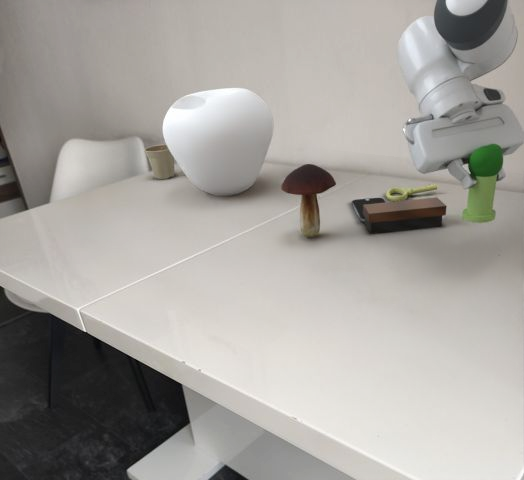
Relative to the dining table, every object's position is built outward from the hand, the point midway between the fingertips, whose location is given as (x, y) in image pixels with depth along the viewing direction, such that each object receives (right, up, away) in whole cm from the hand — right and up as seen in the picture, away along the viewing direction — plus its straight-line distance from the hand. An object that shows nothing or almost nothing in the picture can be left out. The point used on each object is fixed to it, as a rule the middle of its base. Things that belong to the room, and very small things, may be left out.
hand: (485, 183), depth 87 cm
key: (0, +10, +44) cm, 45 cm away
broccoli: (0, -5, +4) cm, 6 cm away
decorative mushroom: (-26, -3, +27) cm, 38 cm away
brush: (-6, 0, +28) cm, 29 cm away
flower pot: (-66, +26, +79) cm, 107 cm away
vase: (-46, +17, +61) cm, 78 cm away
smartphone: (-11, +5, +37) cm, 39 cm away
